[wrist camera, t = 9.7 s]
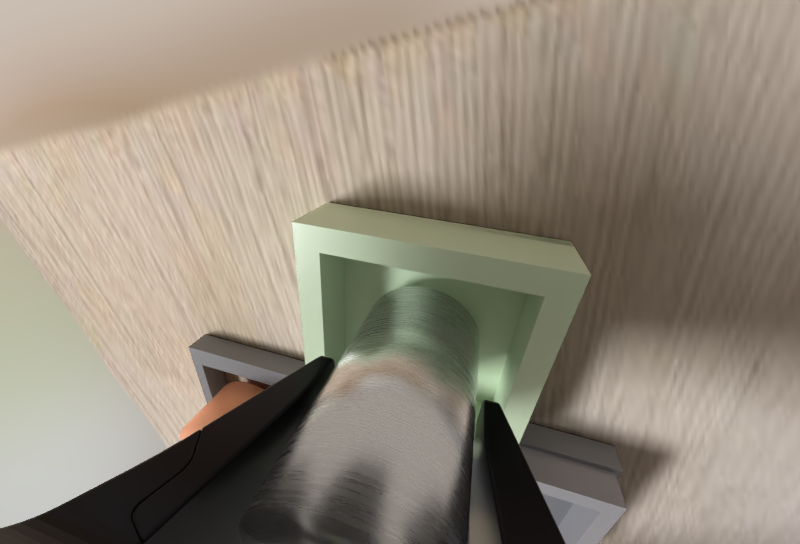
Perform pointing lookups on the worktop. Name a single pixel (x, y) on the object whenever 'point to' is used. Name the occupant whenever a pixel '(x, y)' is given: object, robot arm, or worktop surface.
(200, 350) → the checker plate
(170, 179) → the worktop surface
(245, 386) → the cylinder
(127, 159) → the worktop surface
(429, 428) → the cell
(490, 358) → the pale green square tray
